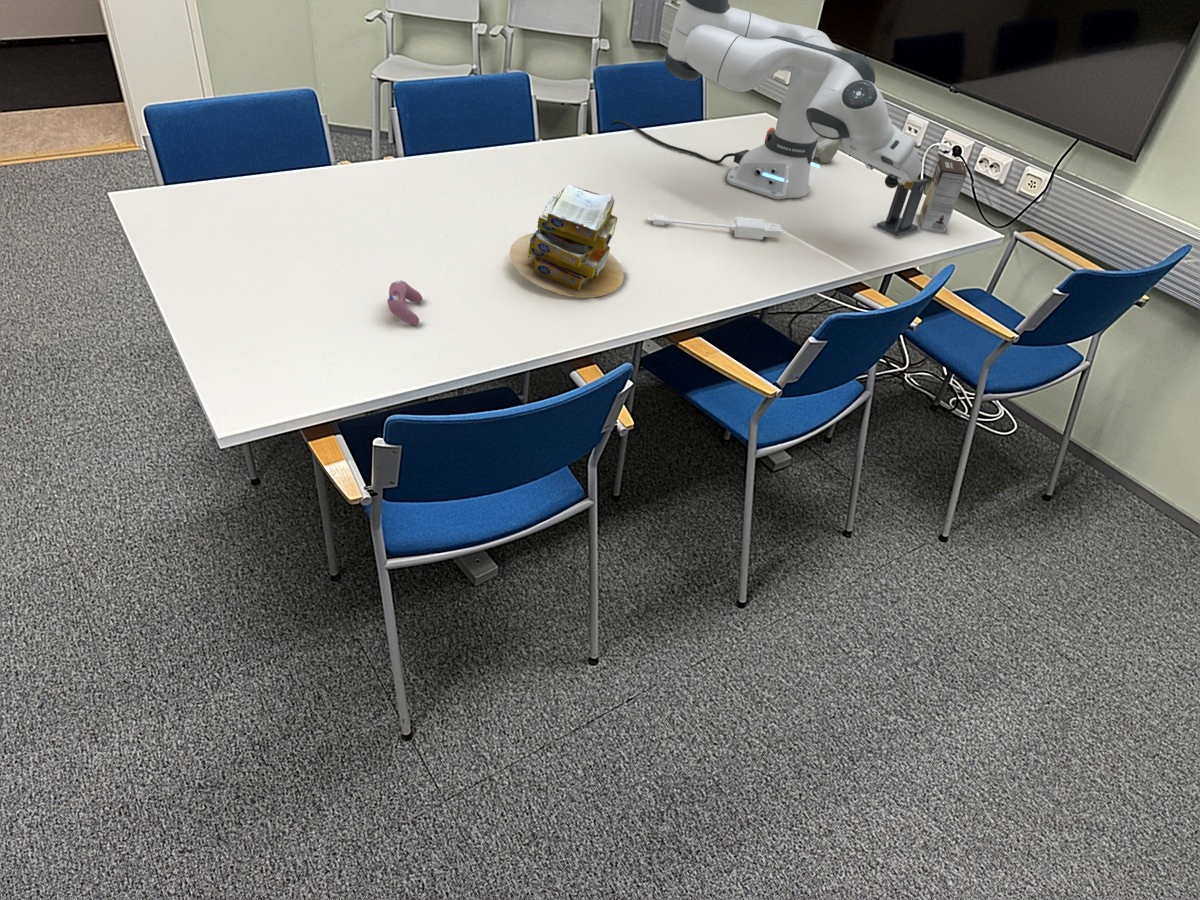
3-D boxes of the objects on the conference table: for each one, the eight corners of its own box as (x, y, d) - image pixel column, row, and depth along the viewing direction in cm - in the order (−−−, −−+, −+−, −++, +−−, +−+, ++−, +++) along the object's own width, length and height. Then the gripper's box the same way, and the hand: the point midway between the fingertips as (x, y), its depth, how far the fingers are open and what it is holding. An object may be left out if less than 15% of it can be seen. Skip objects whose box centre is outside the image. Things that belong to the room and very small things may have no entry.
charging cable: (647, 221, 216) (648, 208, 214) (777, 233, 216) (780, 220, 214) (646, 229, 212) (647, 216, 210) (779, 242, 212) (782, 229, 210)
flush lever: (891, 189, 211) (897, 175, 209) (879, 184, 213) (886, 170, 211) (916, 194, 220) (923, 180, 218) (905, 189, 222) (912, 175, 220)
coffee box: (917, 215, 235) (938, 156, 225) (941, 219, 235) (963, 161, 225) (920, 229, 228) (942, 169, 218) (945, 233, 228) (968, 174, 218)
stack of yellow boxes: (642, 268, 194) (653, 196, 184) (587, 312, 177) (595, 235, 166) (548, 235, 202) (554, 164, 192) (486, 274, 185) (488, 198, 174)
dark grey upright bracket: (896, 237, 222) (914, 185, 214) (876, 227, 226) (892, 175, 217) (917, 230, 227) (935, 179, 219) (896, 220, 231) (914, 169, 222)
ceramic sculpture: (830, 138, 250) (787, 124, 258) (823, 168, 255) (782, 154, 263) (851, 132, 256) (809, 119, 264) (844, 162, 261) (803, 148, 269)
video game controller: (404, 306, 174) (386, 277, 170) (424, 298, 173) (407, 269, 169) (399, 333, 166) (380, 303, 162) (420, 325, 166) (402, 294, 161)
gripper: (830, 134, 204) (844, 168, 215) (902, 165, 192) (913, 200, 204) (847, 112, 203) (861, 148, 215) (920, 142, 192) (931, 178, 203)
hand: (887, 173), depth 209 cm, fingers open, 8 cm apart
